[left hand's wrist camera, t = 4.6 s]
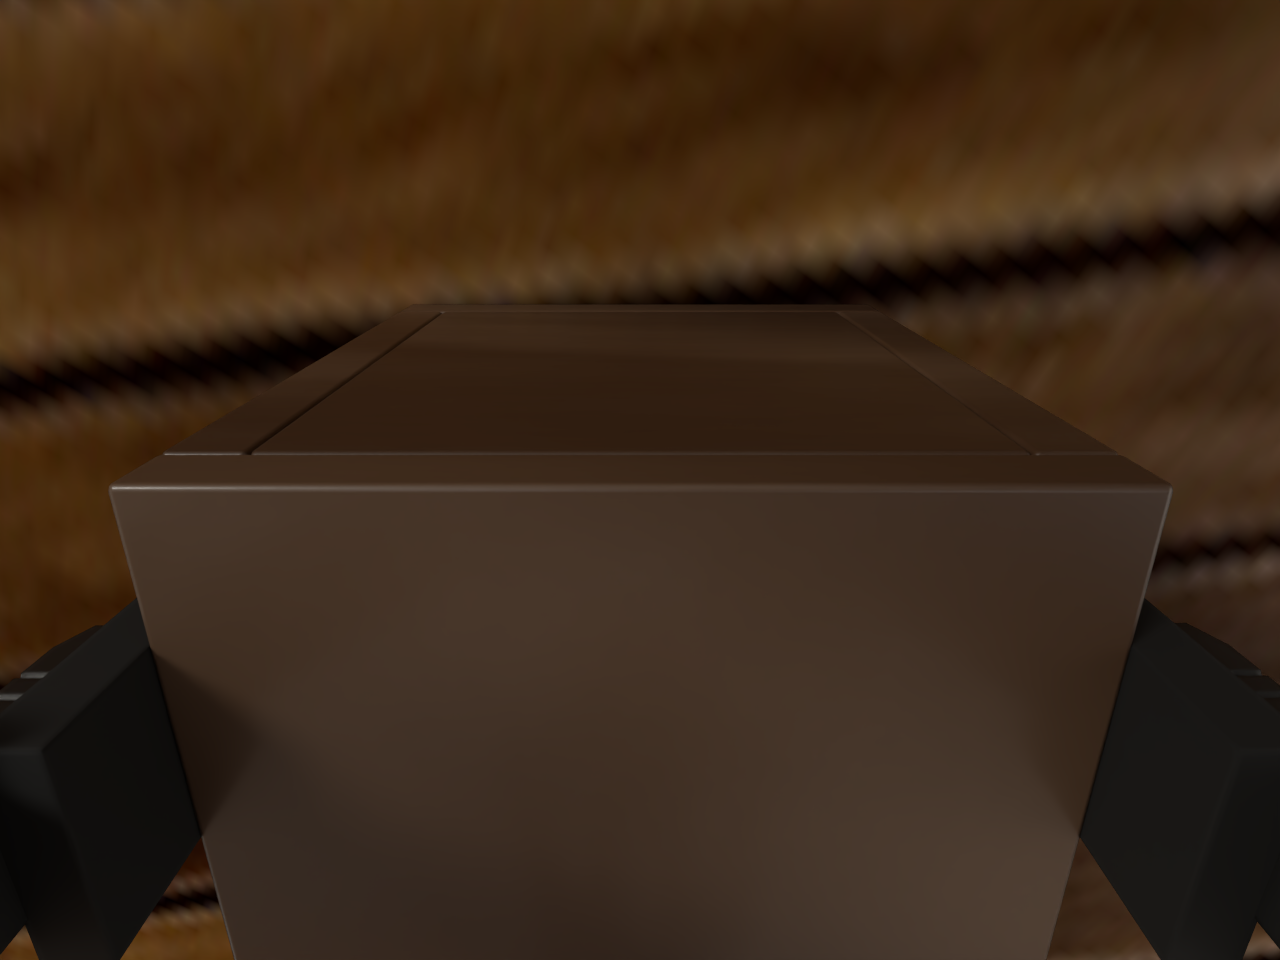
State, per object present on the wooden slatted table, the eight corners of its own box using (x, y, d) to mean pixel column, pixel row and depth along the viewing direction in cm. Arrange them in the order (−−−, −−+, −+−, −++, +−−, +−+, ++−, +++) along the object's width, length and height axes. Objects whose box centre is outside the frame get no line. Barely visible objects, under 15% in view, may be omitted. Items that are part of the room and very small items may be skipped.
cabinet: (813, 832, 24) (945, 1340, 14) (466, 832, 24) (334, 1340, 14) (869, 303, 18) (1179, 485, 8) (411, 304, 18) (101, 485, 8)
